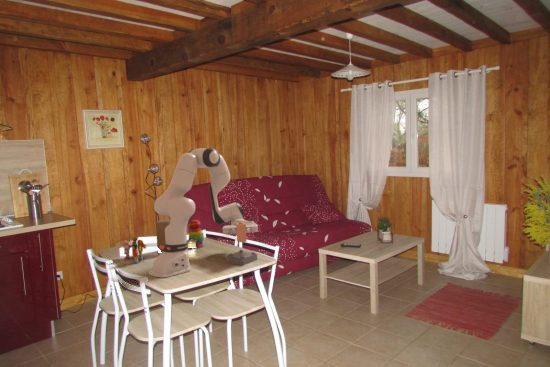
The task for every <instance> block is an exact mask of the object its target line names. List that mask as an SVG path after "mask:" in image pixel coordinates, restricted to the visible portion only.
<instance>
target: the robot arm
mask: <svg viewBox="0 0 550 367" xmlns="http://www.w3.org/2000/svg"><path fill="white" fill-rule="evenodd" d="M198 168H199V169H200V168H201V169H205V168H207V169H208V173H209V174H210V177H211V178H210V179H211V182H210V184H209V185H208V192H209V198H210V204H211V209H212V219H213V221H214V222H215V224H217V225H220V226H222V225H223V224H226V223H228V222H230V225H223V226H222V227H221V230H222V233H223V234H224V235H226V234H227V235H231V234H235V235H237V230H236V223H239V222H243V223H246V234H247V233H248V234H249V233H258V232H259V225H258V224H257V223H256V222H255V221H254V220H245V217H246V216H245V210H244V209H243V207H242V205H241V204H240V203H239V202H236V201H235V202H232V203H229V204H226V205H224V206H221V207H219V202H218V194H219V193H220V192H221V191H222V190H223V189H224V188H226V187H227V185H228V184H229V183H230V181H231V172H230V170H229V167H228V165H227V162H226V160H225V158H224V157H223V155H222V154H220V153H219V152H218V150H216V149H215V148H211V147H208V148H207V147H206V148H205V147H200V148H195V149H194V148H193V149H191V150H189V151H188V152H185V153H182V154H181V156H180V157H179V159H178V161H177V164H176V166H175V169H174V172H173V174H172V178H171V181H170V182H169V185H168V187H167V188H166V190H165V191H164V192H163V193H162V194H161V195H160V196H159V197H157V198H156V199H155V201H154V204H153V207H154V211H155V212H156V213H157V214H158V215H161V216H164V217H170V219H171V221H170V224H169V225H168V226H167V227H166V228H165V242H166V243H165V245H164V246H162V245H160V246H159V248H160V249H163V252H162V253H161V254H159V256H157V257H156V258H155V260H154V261H153V263H152V264H153V265H152V269H151V270H148V275H149V276H152V277H154V278H155V277H156V278H169V277H173V276H175V275H181V274H184V273H188V272H191V268H192V265H191V262H190V260H189V259H190V257H189V253H188V252H189V249H188V244H189V242H188V239H187V238H188V236H187V235H188V234H187V228H188V223H189V221H190V218H191V217H192V216H193V215H194V214H195V212H196V203H195V201H194V200H192V199H191V198H188V197H186V196H185V194H186V193H187V192H189V191H190V190H191V189H192V186H193V183H194V180H195V176H196V174H197V169H198Z"/></svg>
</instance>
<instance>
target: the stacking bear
mask: <svg viewBox="0 0 550 367" xmlns="http://www.w3.org/2000/svg"><path fill="white" fill-rule="evenodd" d="M188 228H190V229H189V232H188V240H191V239H193V240H196V247H197V249H200V248H203V247H204V242H203V241H204V233H203V229H201V221H200V220H199V219H193V220H191V221H190V223H189V224H188Z"/></svg>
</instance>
